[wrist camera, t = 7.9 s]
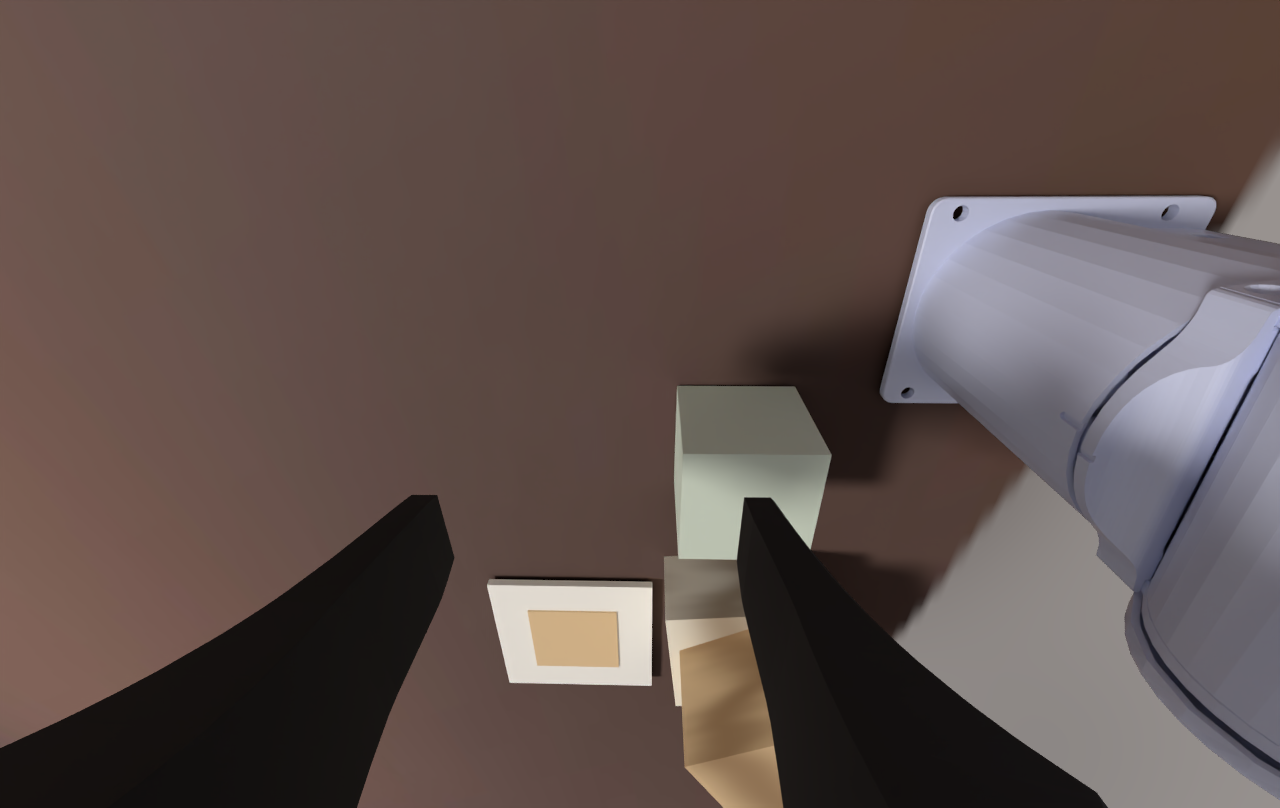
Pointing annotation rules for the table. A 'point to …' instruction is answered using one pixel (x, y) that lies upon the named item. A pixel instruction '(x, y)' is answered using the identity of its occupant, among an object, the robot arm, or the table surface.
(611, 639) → the card
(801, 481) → the sage cube
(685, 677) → the oak cube
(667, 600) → the base block
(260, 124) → the table surface
